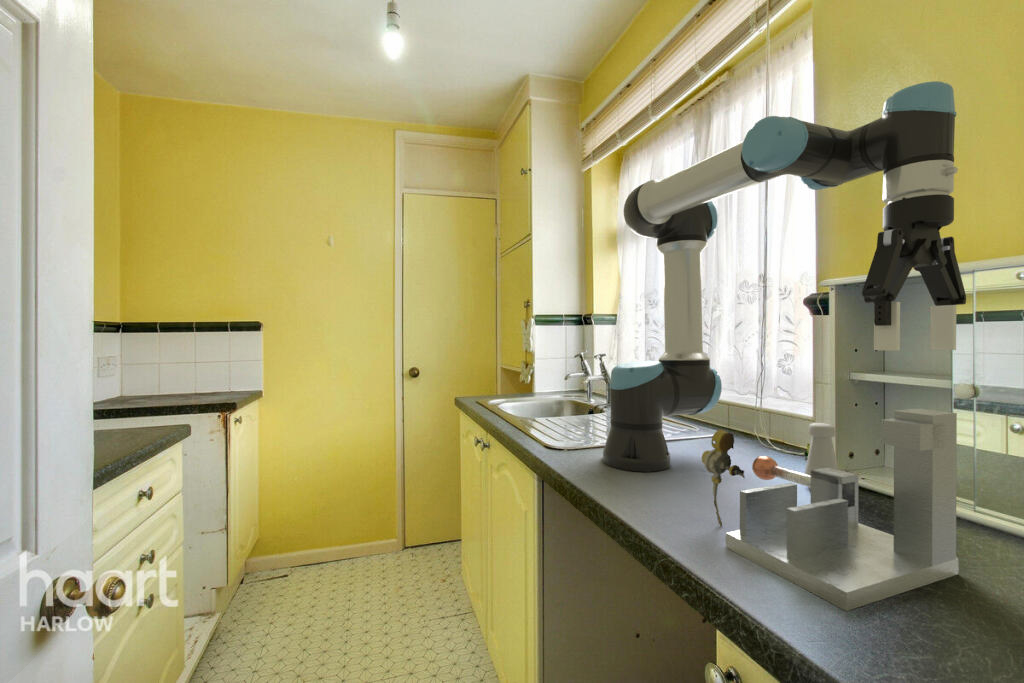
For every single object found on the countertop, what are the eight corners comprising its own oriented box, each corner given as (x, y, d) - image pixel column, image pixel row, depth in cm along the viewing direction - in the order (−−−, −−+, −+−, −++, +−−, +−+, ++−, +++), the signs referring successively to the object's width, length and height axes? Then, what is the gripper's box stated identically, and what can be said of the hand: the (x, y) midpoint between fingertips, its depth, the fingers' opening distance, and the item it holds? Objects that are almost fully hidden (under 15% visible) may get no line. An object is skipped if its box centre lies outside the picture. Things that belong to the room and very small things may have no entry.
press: (725, 547, 63) (726, 404, 63) (827, 524, 71) (827, 397, 71) (846, 611, 48) (847, 424, 48) (958, 574, 56) (959, 412, 56)
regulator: (695, 520, 72) (696, 427, 72) (714, 517, 74) (714, 425, 74) (735, 539, 65) (735, 436, 65) (754, 535, 67) (755, 434, 67)
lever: (746, 477, 79) (746, 454, 79) (763, 475, 80) (763, 452, 80) (832, 505, 65) (832, 478, 65) (850, 502, 67) (850, 475, 67)
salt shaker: (846, 497, 83) (846, 427, 83) (811, 495, 84) (812, 426, 84) (830, 487, 89) (831, 421, 89) (798, 485, 90) (798, 420, 90)
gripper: (894, 179, 56) (893, 351, 56) (999, 203, 65) (997, 350, 65) (831, 197, 63) (830, 349, 63) (934, 216, 72) (933, 348, 72)
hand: (915, 350), depth 64 cm, fingers open, 13 cm apart
